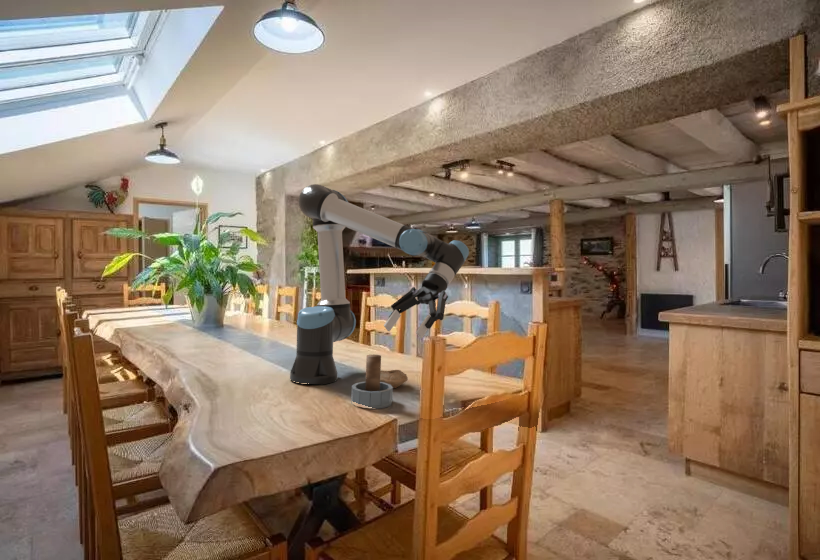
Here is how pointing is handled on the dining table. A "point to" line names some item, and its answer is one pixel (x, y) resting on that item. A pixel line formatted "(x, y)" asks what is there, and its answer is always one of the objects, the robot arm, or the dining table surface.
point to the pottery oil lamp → (393, 377)
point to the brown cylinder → (373, 372)
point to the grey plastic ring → (372, 395)
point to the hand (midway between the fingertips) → (401, 332)
